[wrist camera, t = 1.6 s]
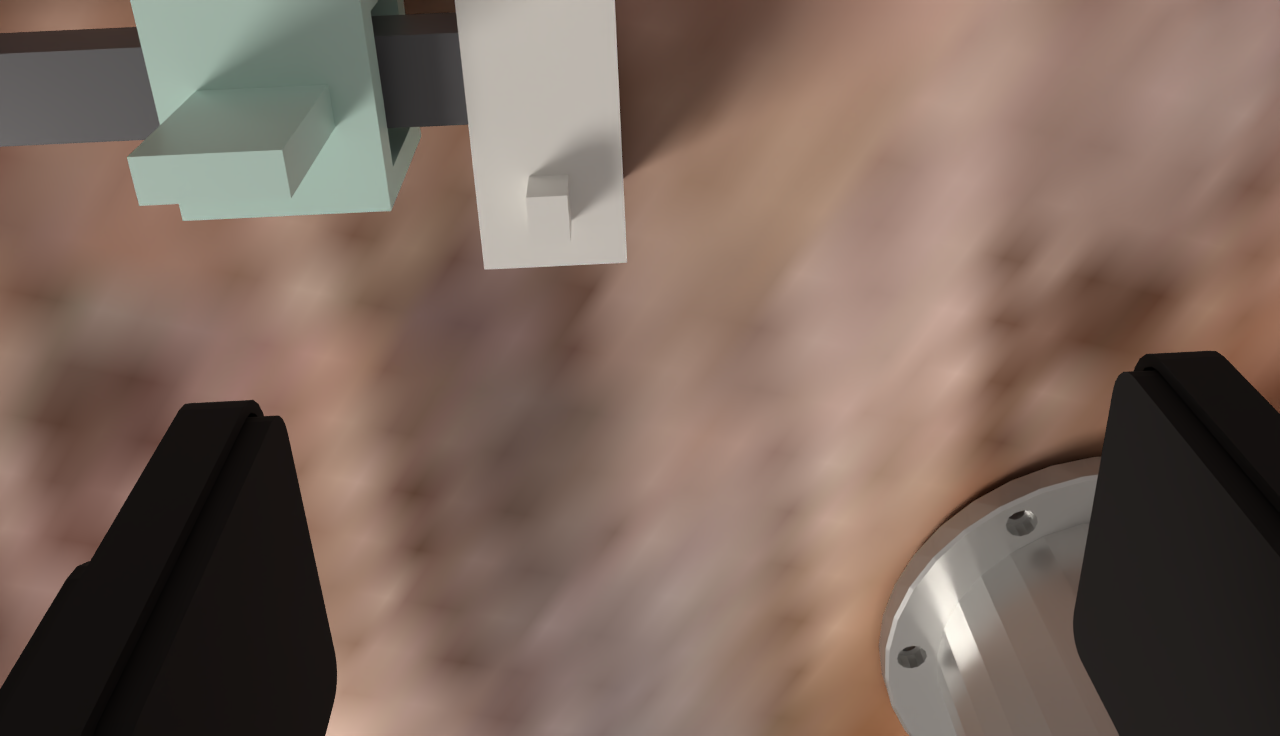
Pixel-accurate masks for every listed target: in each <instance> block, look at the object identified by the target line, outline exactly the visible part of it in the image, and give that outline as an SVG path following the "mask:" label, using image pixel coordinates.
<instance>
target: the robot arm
mask: <svg viewBox="0 0 1280 736" xmlns="http://www.w3.org/2000/svg"><path fill="white" fill-rule="evenodd" d="M879 652H880V661H881V670H882V676H883V679H884V682H885V685H886V688H887V691H888V695H889V698H890V702H891V705H892V708H893V709H894V711H895V713H896V715H897V717H898V719H899V720H900V722H901V724H902V726H903V728H904V729H905V731H906V732H907V733H908V734H909V735H910V736H1280V414H1279V413H1278V412H1277V411H1276V410H1275V409H1274V408H1273V406H1272V405H1271V404H1270V403H1269V402H1268V401H1267V400H1266V399H1265V398H1264V397H1263V396H1262V395H1261V394H1260V393H1259V392H1258V391H1257V390H1256V389H1255V388H1254V387H1253V386H1252V385H1251V384H1250V383H1249V382H1248V381H1247V380H1246V379H1245V378H1244V377H1243V376H1242V375H1241V374H1240V373H1239V372H1238V371H1237V370H1236V369H1235V368H1234V366H1233V365H1232V364H1231V363H1230V362H1229V361H1228V360H1227V359H1226V358H1225V357H1224V356H1222V355H1221V354H1219V353H1218V352H1216V351H1197V352H1177V353H1158V354H1146V355H1144V356H1143V357H1142V358H1140V360H1139V361H1138V363H1137V365H1136V366H1135V369H1134V371H1133V372H1123V373H1121V374H1120V375H1119V376H1118V378H1117V380H1116V381H1115V385H1114V389H1113V393H1112V399H1111V404H1110V410H1109V416H1108V421H1107V427H1106V433H1105V438H1104V444H1103V450H1102V455H1101V457H1092V458H1087V459H1082V460H1077V461H1072V462H1068V463H1063V464H1058V465H1053V466H1050V467H1047V468H1044V469H1042V470H1039V471H1036V472H1033V473H1031V474H1028V475H1025V476H1023V477H1020V478H1017V479H1014V480H1012V481H1009V482H1008V483H1006V484H1004V485H1002V486H1000V487H998V488H997V489H995V490H993V491H991V492H989V493H987V494H986V495H984V496H982V497H980V498H978V499H977V500H975V501H973V502H972V503H970V504H969V505H968V506H966V507H965V508H964V509H962V510H961V511H960V512H959V513H957V514H956V515H955V516H953V517H952V518H951V519H949V520H948V521H947V522H945V523H944V524H943V525H942V526H940V527H939V528H938V529H937V531H936V532H935V533H934V534H933V535H932V536H931V537H930V538H929V539H928V540H927V541H926V542H925V543H924V544H923V545H922V547H921V548H920V549H919V550H918V551H917V552H916V553H915V554H914V555H913V557H912V558H911V560H910V562H909V563H908V565H907V566H906V568H905V569H904V571H903V572H902V574H901V576H900V577H899V579H898V580H897V582H896V583H895V585H894V588H893V590H892V593H891V596H890V598H889V601H888V603H887V606H886V609H885V611H884V614H883V618H882V626H881V633H880V640H879ZM336 685H337V665H336V657H335V651H334V646H333V642H332V637H331V632H330V628H329V623H328V618H327V614H326V609H325V604H324V600H323V595H322V590H321V586H320V581H319V576H318V572H317V567H316V562H315V558H314V553H313V549H312V544H311V539H310V535H309V530H308V525H307V521H306V516H305V511H304V507H303V502H302V497H301V493H300V488H299V483H298V479H297V474H296V469H295V465H294V460H293V456H292V451H291V446H290V442H289V437H288V433H287V429H286V425H285V423H284V421H283V419H282V418H281V417H280V416H264V415H263V412H262V410H261V408H260V406H259V404H258V403H256V402H255V401H254V400H245V401H225V402H206V403H189V404H184V405H183V407H182V408H181V409H180V410H179V411H178V413H177V415H176V416H175V418H174V420H173V422H172V423H171V425H170V427H169V428H168V430H167V432H166V433H165V435H164V437H163V439H162V440H161V442H160V444H159V445H158V447H157V449H156V450H155V452H154V454H153V456H152V457H151V459H150V461H149V462H148V464H147V466H146V467H145V469H144V471H143V473H142V474H141V476H140V478H139V479H138V481H137V483H136V484H135V486H134V488H133V490H132V491H131V493H130V495H129V496H128V498H127V500H126V501H125V503H124V505H123V506H122V508H121V510H120V512H119V513H118V515H117V517H116V518H115V520H114V522H113V523H112V525H111V527H110V529H109V530H108V532H107V534H106V535H105V537H104V539H103V540H102V542H101V544H100V546H99V547H98V549H97V551H96V552H95V554H94V556H93V557H92V559H91V561H88V562H86V563H84V564H82V565H79V566H77V567H76V568H75V570H74V571H73V572H72V573H71V574H70V576H69V577H68V578H67V579H66V581H65V583H64V584H63V586H62V588H61V589H60V591H59V593H58V594H57V596H56V597H55V599H54V601H53V602H52V604H51V606H50V607H49V609H48V611H47V612H46V614H45V616H44V617H43V619H42V621H41V622H40V624H39V626H38V627H37V629H36V631H35V632H34V634H33V636H32V637H31V639H30V641H29V642H28V644H27V646H26V647H25V649H24V650H23V652H22V654H21V655H20V657H19V659H18V660H17V662H16V664H15V665H14V667H13V669H12V670H11V672H10V674H9V675H8V677H7V679H6V680H5V682H4V684H3V685H2V687H1V689H0V736H325V734H326V730H327V727H328V723H329V719H330V715H331V711H332V707H333V703H334V699H335V694H336Z"/></svg>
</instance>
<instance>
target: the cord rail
mask: <svg viewBox="0 0 1280 736" xmlns="http://www.w3.org/2000/svg"><path fill="white" fill-rule="evenodd" d="M455 7H456V12H452V13H430V14H408V15H387V16H371V18H372V25H373V32H374V39H375V46H376V53H377V60H378V67H379V74H380V81H381V87H382V94H383V101H384V108H385V115H386V122H387V128H404V127H425V126H446V125H467V124H468V125H469V134H470V143H471V153H472V162H473V171H474V180H475V189H476V198H477V207H478V216H479V225H480V234H481V243H482V252H483V261H484V269H505V268H526V267H546V266H567V265H587V264H608V263H627V250H626V229H625V208H624V186H623V165H622V144H621V122H620V101H619V80H618V58H617V37H616V16H615V0H455ZM159 126H160V123H159V119H158V115H157V110H156V106H155V102H154V98H153V94H152V89H151V85H150V81H149V77H148V73H147V69H146V64H145V60H144V56H143V52H142V48H141V43H140V39H139V35H138V31H137V27H126V28H105V29H83V30H61V31H40V32H18V33H0V147H2V146H23V145H44V144H65V143H86V142H107V141H129V140H145V139H146V138H147V137H148V136H149V135H151V134H152V133H153V132H154V131H155V130H156V129H157V128H158V127H159Z"/></svg>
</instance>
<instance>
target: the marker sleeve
mask: <svg viewBox="0 0 1280 736" xmlns="http://www.w3.org/2000/svg"><path fill="white" fill-rule="evenodd" d="M130 2H131V6H132V10H133V14H134V18H135V22H136V27H137V31H138V35H139V39H140V43H141V48H142V52H143V56H144V60H145V64H146V69H147V73H148V77H149V81H150V85H151V89H152V94H153V98H154V102H155V106H156V110H157V115H158V119H159V123H160V126H159V127H158V128H157V129H156V130H155V131H154V132H153V133H152V134H151V135H149V136H148V137H147V138H146V139H145V140H144V141H143V142H142V143H141V144H140V145H139V146H138V147H137V148H136V149H135V150H134V151H133V152H132V153H131V154H130V155H129V156H128V157H127V159H128V163H129V167H130V171H131V175H132V179H133V183H134V187H135V191H136V195H137V199H138V202H139V206H143V205H164V204H179V207H180V211H181V215H182V219H183V221H190V220H211V219H231V218H252V217H273V216H294V215H315V214H335V213H356V212H377V211H391V210H392V208H393V205H394V203H395V200H396V198H397V195H398V193H399V190H400V188H401V185H402V183H403V180H404V178H405V175H406V173H407V170H408V168H409V165H410V163H411V160H412V158H413V155H414V153H415V150H416V148H417V145H418V143H419V141H420V138H421V130H420V127H404V128H387V122H386V115H385V108H384V101H383V94H382V87H381V81H380V74H379V67H378V60H377V53H376V46H375V39H374V32H373V25H372V18H371V16H387V15H405V8H404V0H130Z"/></svg>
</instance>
